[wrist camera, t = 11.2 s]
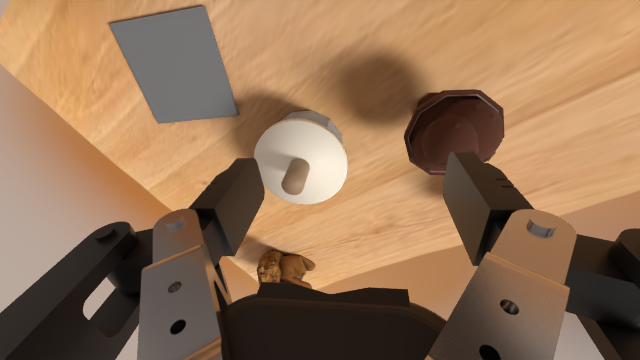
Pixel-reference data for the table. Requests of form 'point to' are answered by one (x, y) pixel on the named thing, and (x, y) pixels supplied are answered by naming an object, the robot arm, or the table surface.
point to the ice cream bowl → (453, 128)
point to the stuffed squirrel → (283, 268)
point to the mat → (177, 65)
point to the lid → (301, 161)
